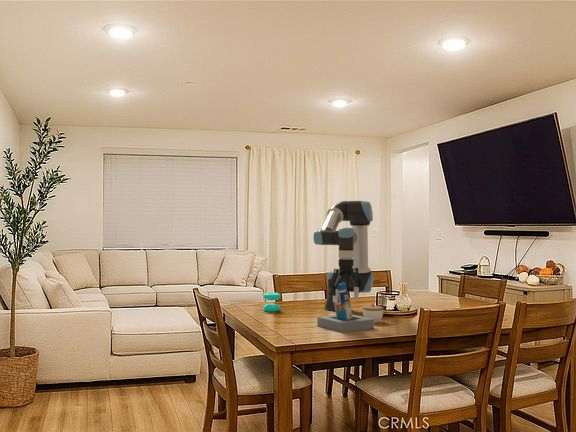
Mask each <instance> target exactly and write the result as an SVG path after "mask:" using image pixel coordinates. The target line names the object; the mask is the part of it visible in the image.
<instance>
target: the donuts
mask: <svg viewBox="0 0 576 432" xmlns="http://www.w3.org/2000/svg"><path fill="white" fill-rule="evenodd" d="M262 298H263V299H265V300H266V301H277V300H279V299H280V298H281V294H280V293H278V292H265V293H263V295H262ZM262 310H263V311H264V312H267V311H268V312H270V313H274V312H275V313H276V312H279V311H281V307H280V305H279V304H276V303H268V304H265V305H263V308H262Z"/></svg>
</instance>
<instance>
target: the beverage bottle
mask: <svg viewBox="0 0 576 432" xmlns="http://www.w3.org/2000/svg"><path fill="white" fill-rule="evenodd" d="M336 289H338V299H337V303H336V302H334V306H335V311H334V312H335V315H336V318H337V320H342V321H349V320H353V318H352V314H353V311H352V306H351V302H352V301H351V299H350V294H349V292H347V291H346V290H347V287H346V283H339V285H338V287H337V288H336Z"/></svg>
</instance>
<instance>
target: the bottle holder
mask: <svg viewBox="0 0 576 432" xmlns="http://www.w3.org/2000/svg"><path fill="white" fill-rule="evenodd" d="M352 318H353V320H349V321H342V320H337V318H336V314H333V315H332V314H331V315H325V316H323V315H322V316H317V324H316V325H317V327H321V328H324V329H328V330H332V331H336V332H339V333H349V332H350V331H351V332H355V331H356V332H357V330H358V331H364V330H363V329H365V330H371V329H370V328H373V329H374V328H375V323H374V319H371V318H366V317H364V316H361V315H356V314H353V313H352Z"/></svg>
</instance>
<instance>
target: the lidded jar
mask: <svg viewBox="0 0 576 432" xmlns="http://www.w3.org/2000/svg"><path fill="white" fill-rule="evenodd" d="M362 313H363V317H366V318H371V319H374V324H375V323H376V324H377V322H378V323H380V321H381V320H382V318H383V317H384V316H383V315H384V307H383V306H381V305H375V304H374V303H372V304H371V305H364V306H362Z"/></svg>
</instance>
